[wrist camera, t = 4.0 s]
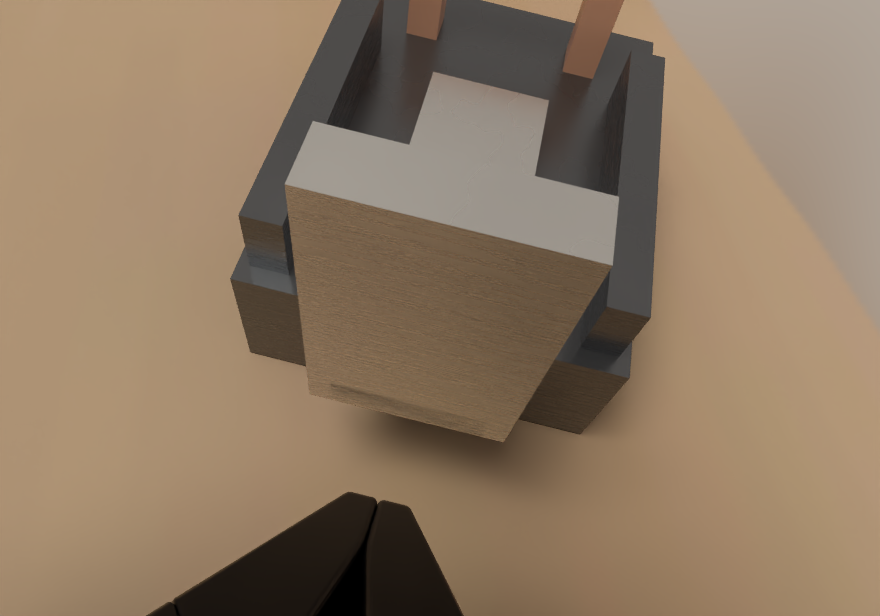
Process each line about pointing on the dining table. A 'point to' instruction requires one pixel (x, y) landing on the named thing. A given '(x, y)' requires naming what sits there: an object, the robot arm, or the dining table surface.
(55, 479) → the dining table surface
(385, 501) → the robot arm
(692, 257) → the dining table surface
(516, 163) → the tapered wooden notched block
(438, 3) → the lug
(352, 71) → the grey walled tray
